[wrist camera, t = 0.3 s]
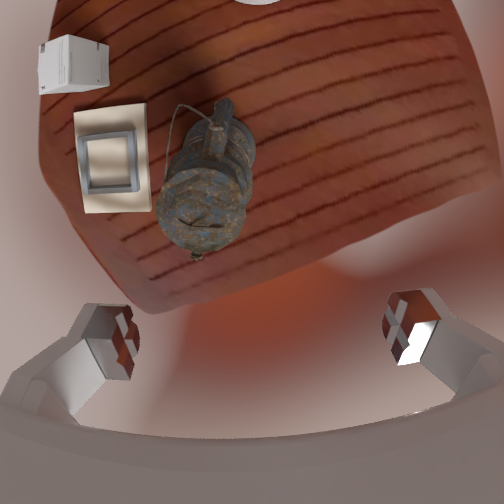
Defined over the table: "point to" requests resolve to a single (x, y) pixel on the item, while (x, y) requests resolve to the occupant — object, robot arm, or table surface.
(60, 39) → the skincare box
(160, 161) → the table surface
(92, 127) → the board
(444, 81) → the table surface
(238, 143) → the lantern
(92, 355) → the robot arm
